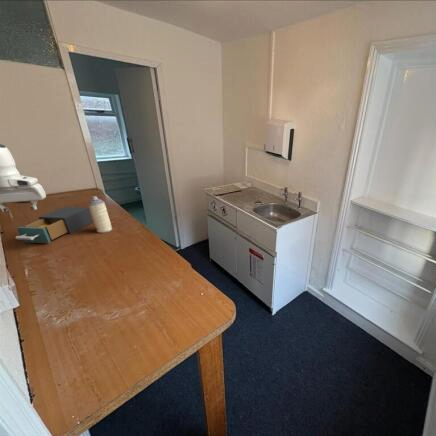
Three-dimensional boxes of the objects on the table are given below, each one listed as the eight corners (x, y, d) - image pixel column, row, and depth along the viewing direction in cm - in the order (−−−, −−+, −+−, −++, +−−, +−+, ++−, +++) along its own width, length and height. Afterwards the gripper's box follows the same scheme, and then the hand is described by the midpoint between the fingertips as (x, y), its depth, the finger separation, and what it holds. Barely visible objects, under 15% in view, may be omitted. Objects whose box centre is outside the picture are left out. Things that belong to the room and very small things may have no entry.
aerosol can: (108, 227, 135) (98, 194, 127) (115, 229, 132) (105, 196, 124) (94, 231, 129) (83, 197, 121) (101, 234, 126) (90, 199, 119)
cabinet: (70, 234, 125) (64, 218, 121) (45, 233, 125) (38, 216, 121) (93, 222, 140) (88, 207, 136) (70, 221, 139) (65, 206, 136)
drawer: (40, 247, 111) (33, 232, 107) (13, 246, 110) (6, 231, 107) (74, 230, 128) (69, 217, 125) (51, 229, 128) (46, 216, 125)
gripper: (-33, 184, 95) (-17, 215, 100) (35, 181, 103) (46, 210, 109) (-22, 180, 100) (-8, 210, 106) (41, 178, 109) (52, 205, 114)
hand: (20, 210), depth 107 cm, fingers open, 8 cm apart
